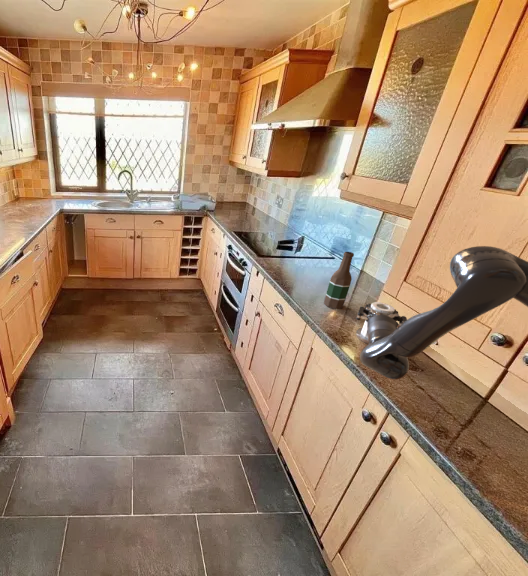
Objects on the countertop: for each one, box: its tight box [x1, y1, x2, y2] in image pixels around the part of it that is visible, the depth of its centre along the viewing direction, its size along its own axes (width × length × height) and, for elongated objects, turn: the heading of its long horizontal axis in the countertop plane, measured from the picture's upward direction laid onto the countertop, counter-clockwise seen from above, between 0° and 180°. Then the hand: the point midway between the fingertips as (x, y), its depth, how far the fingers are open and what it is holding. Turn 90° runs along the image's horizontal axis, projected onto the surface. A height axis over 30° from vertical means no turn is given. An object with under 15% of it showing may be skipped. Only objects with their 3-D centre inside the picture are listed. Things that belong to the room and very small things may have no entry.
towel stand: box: [355, 308, 383, 345], centre depth 109 cm, size 10×10×12 cm
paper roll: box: [361, 301, 396, 338], centre depth 108 cm, size 6×6×12 cm
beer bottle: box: [323, 251, 355, 310], centre depth 127 cm, size 8×8×24 cm
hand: (380, 308), depth 108 cm, fingers closed on paper roll, 6 cm apart
